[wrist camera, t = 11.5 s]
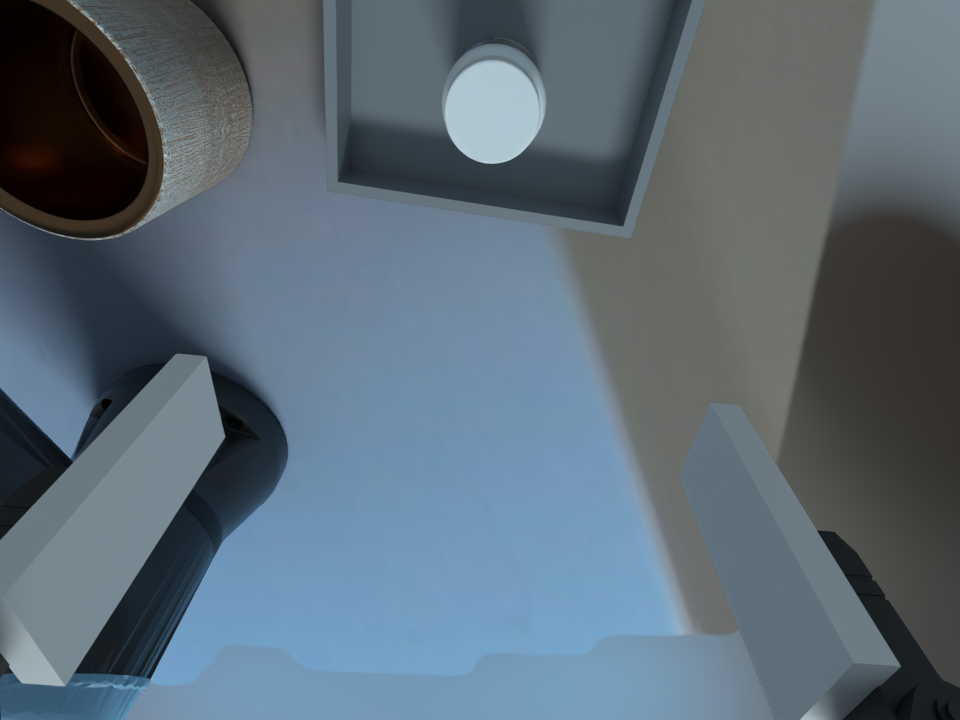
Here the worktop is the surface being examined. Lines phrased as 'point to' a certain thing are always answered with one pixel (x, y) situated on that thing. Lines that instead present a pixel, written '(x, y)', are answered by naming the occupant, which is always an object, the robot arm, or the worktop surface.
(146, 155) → the planter
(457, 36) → the grey tray
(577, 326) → the worktop surface
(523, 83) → the pill bottle
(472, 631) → the worktop surface
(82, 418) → the worktop surface
